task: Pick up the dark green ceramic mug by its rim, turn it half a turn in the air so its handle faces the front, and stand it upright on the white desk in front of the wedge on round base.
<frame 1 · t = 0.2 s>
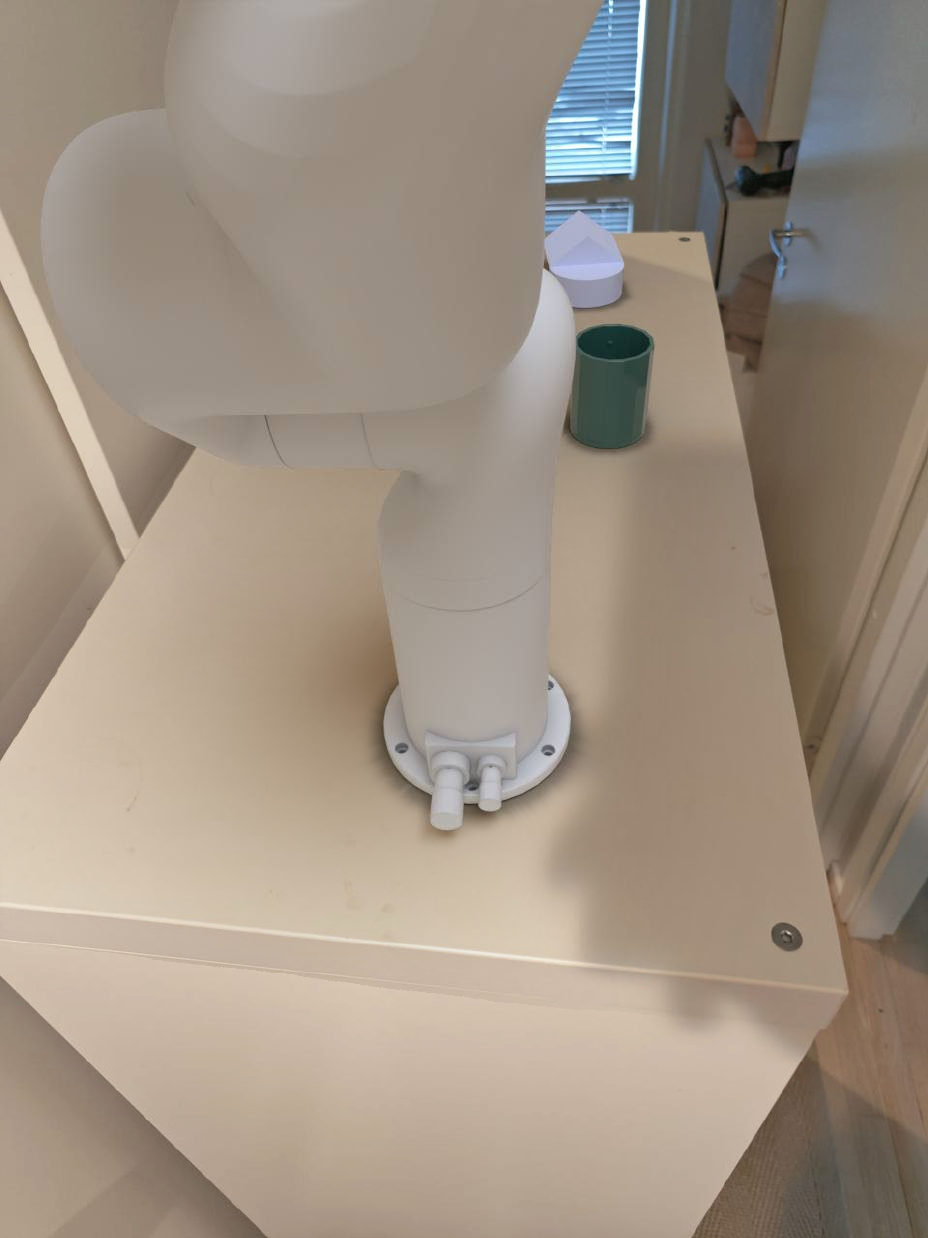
hand: (475, 7, 49), 36 cm above the cabinet, tool pointing down, fingers open, 9 cm apart
wedge on round base: (583, 286, 106), on the cabinet
mug: (607, 428, 83), on the cabinet
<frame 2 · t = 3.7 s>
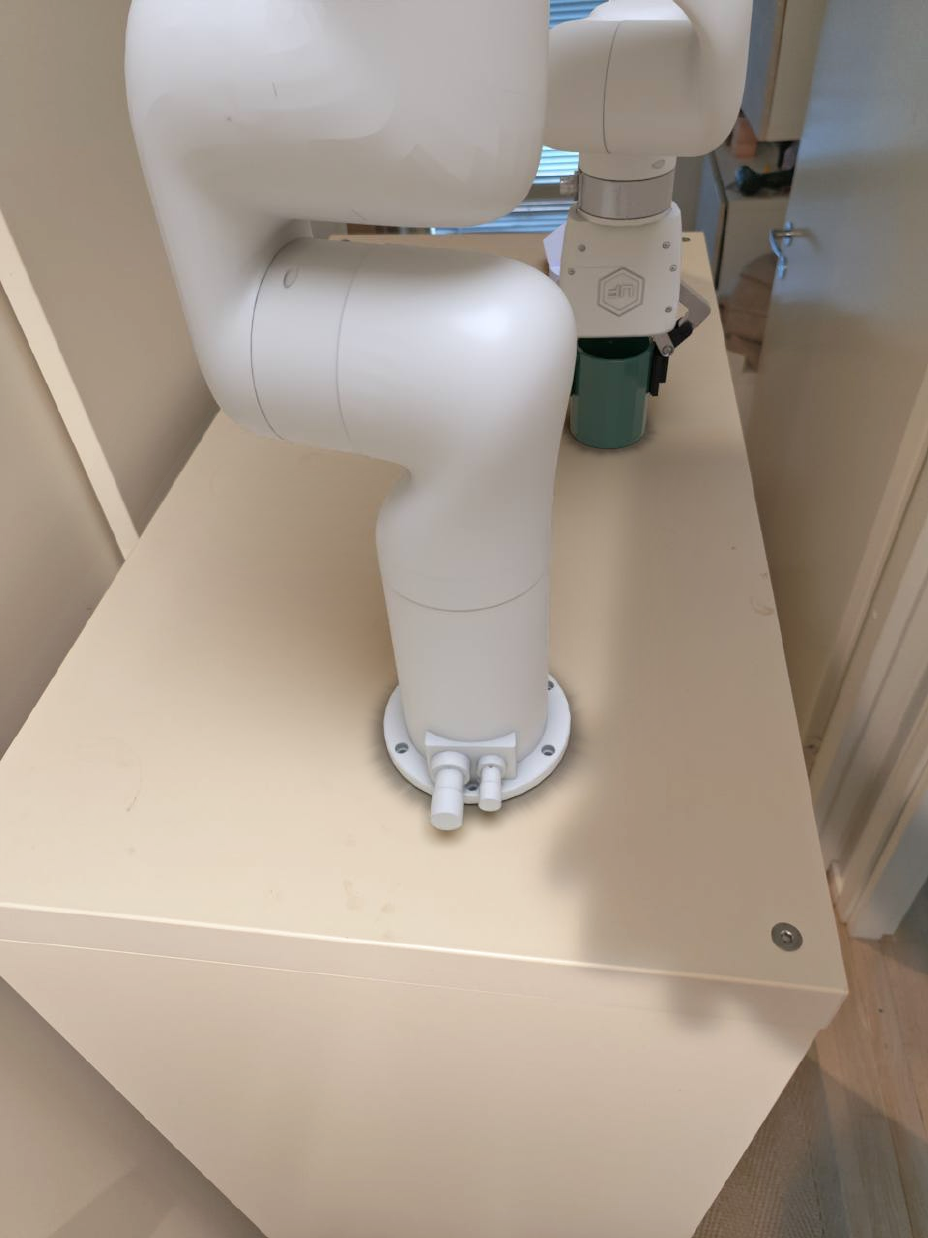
hand: (610, 388, 80), 4 cm above the cabinet, tool pointing down, fingers closed on mug, 7 cm apart
mug: (607, 428, 83), on the cabinet, touching gripper
everything else where it was.
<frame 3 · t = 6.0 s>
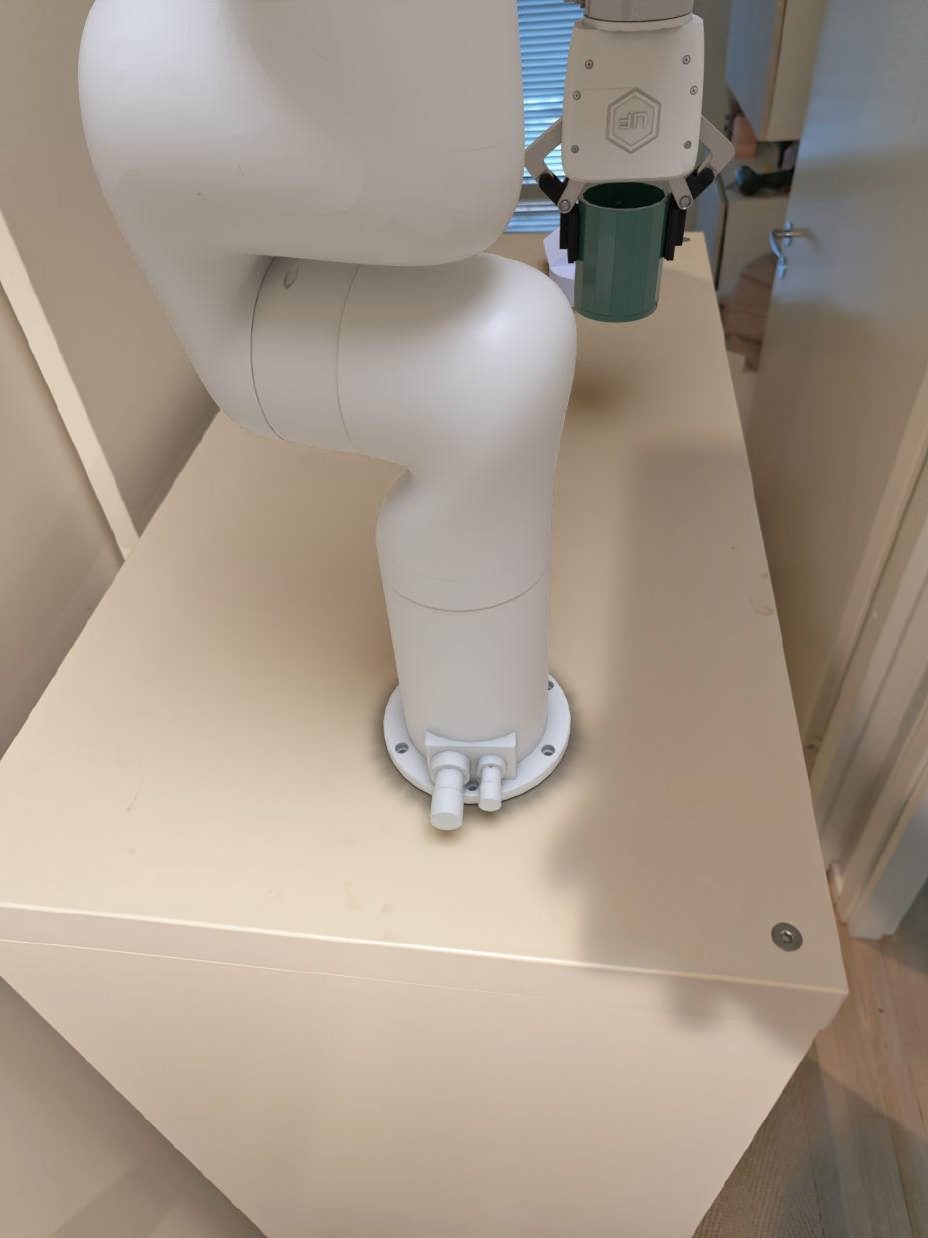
hand: (619, 254, 71), 17 cm above the cabinet, tool pointing down, fingers closed on mug, 7 cm apart
mug: (615, 304, 74), point 13 cm above the cabinet, touching gripper
everything else where it was.
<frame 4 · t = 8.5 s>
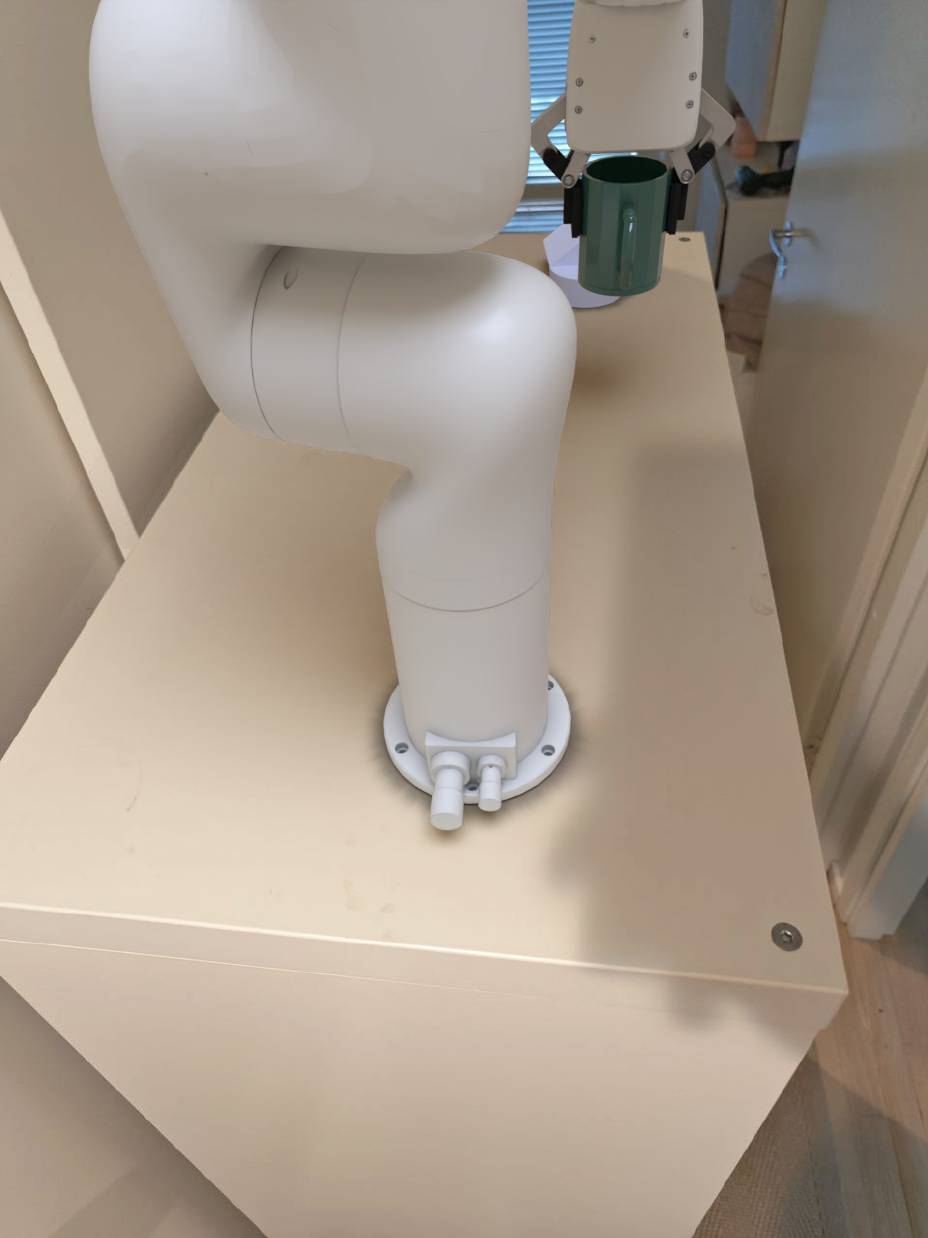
hand: (622, 228, 72), 18 cm above the cabinet, tool pointing down, fingers closed on mug, 7 cm apart
mug: (618, 278, 75), point 14 cm above the cabinet, touching gripper
everything else where it was.
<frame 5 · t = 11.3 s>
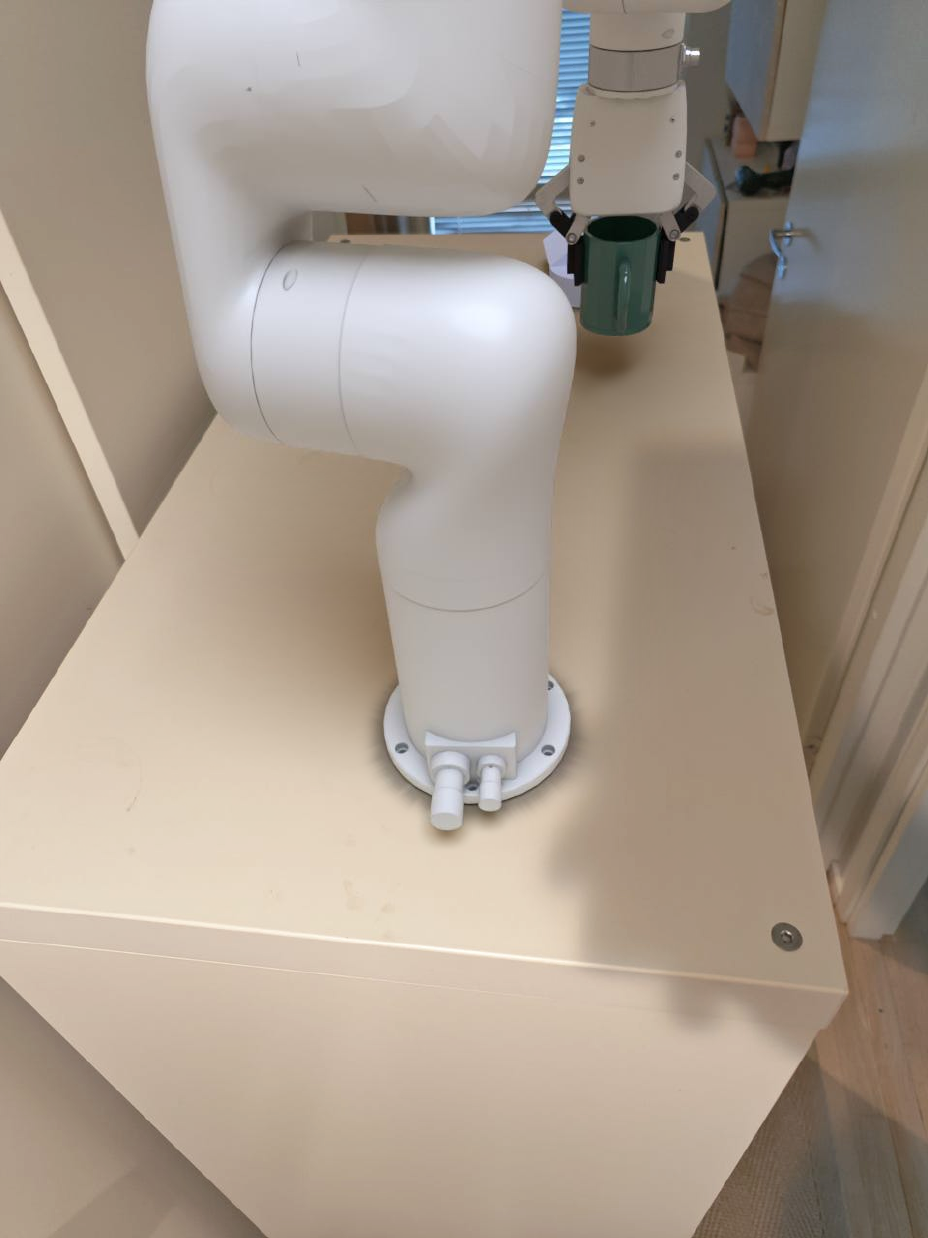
hand: (618, 277, 82), 11 cm above the cabinet, tool pointing down, fingers closed on mug, 7 cm apart
mug: (615, 319, 86), point 6 cm above the cabinet, touching gripper
everything else where it was.
when the fingers open (4 cm above the cabinet, at t = 13.6 s): mug stays where it is, on the cabinet.
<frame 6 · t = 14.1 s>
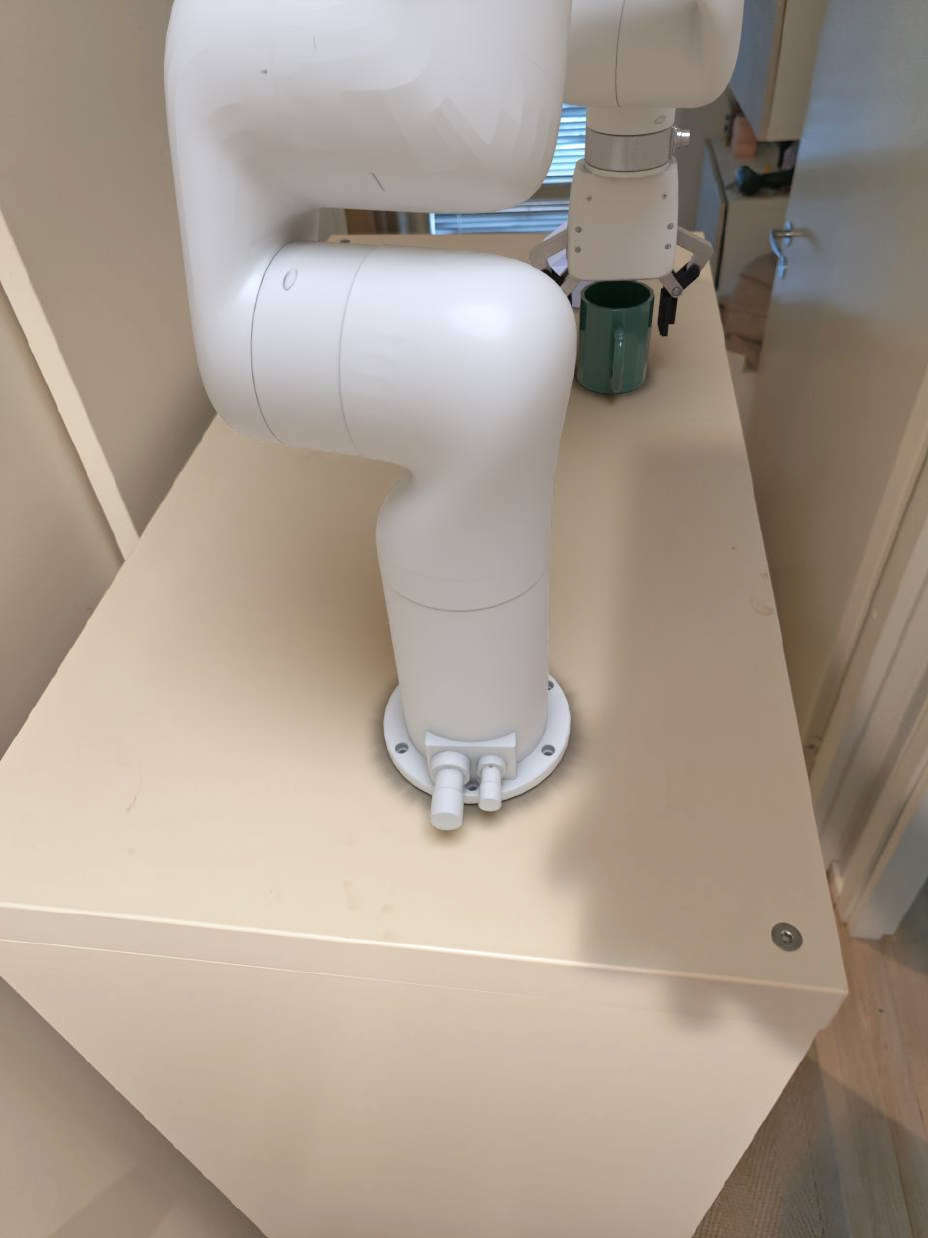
hand: (614, 331, 86), 5 cm above the cabinet, tool pointing down, fingers open, 9 cm apart
mug: (611, 376, 90), on the cabinet
everything else where it was.
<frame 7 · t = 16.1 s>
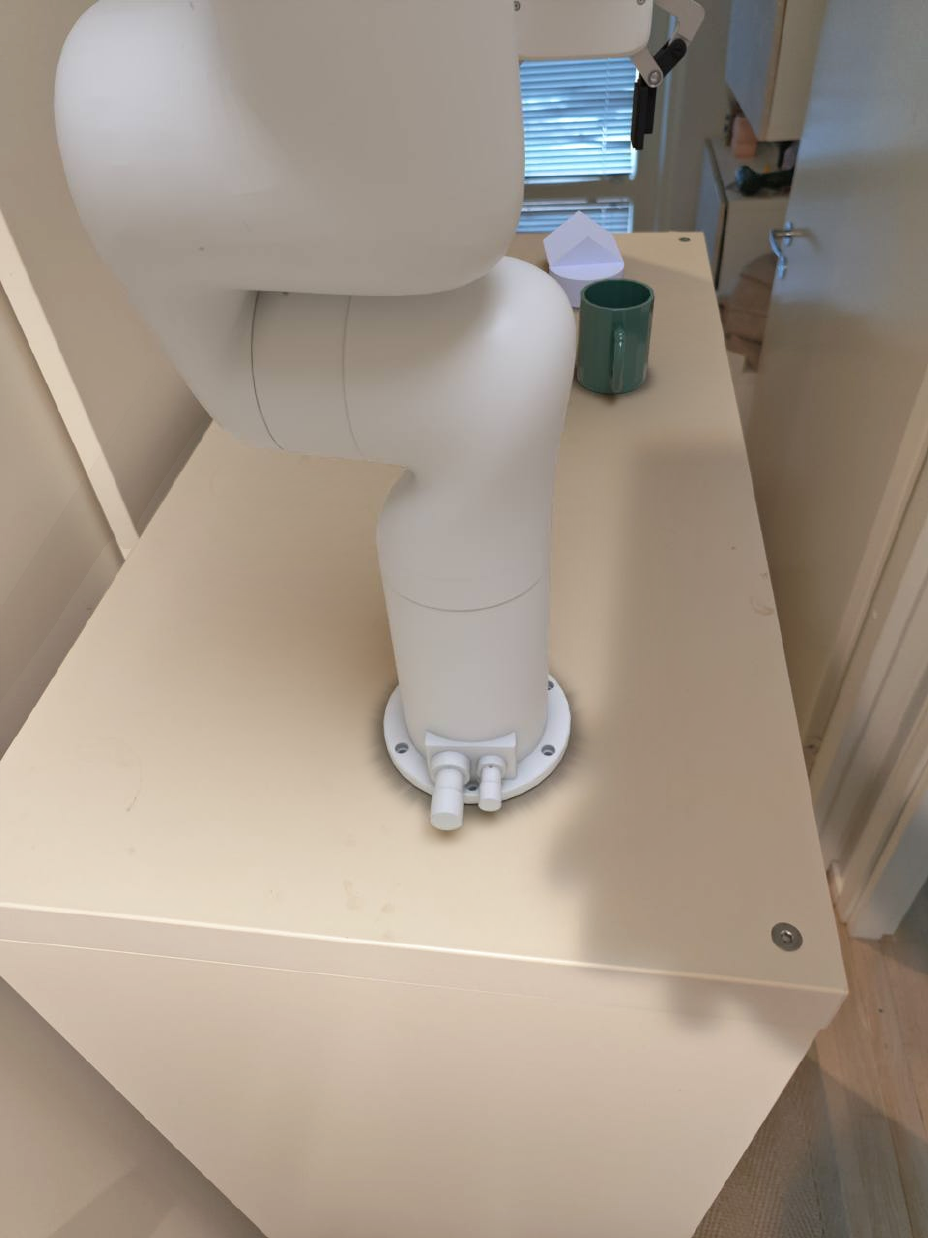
hand: (572, 147, 64), 26 cm above the cabinet, tool pointing down, fingers open, 9 cm apart
nothing on the cabinet moved.
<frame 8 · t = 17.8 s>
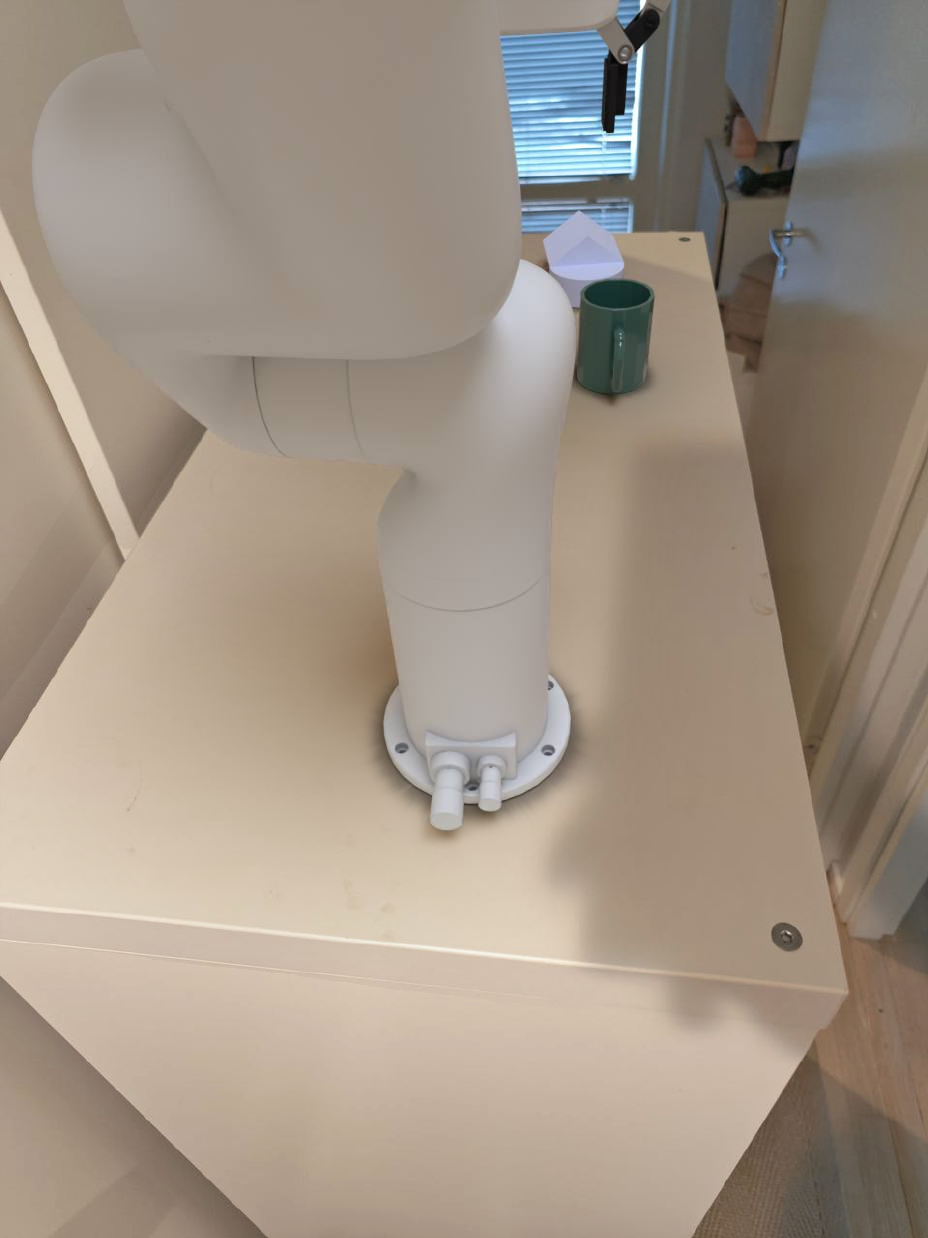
hand: (537, 130, 59), 28 cm above the cabinet, tool pointing down, fingers open, 9 cm apart
nothing on the cabinet moved.
at the end: mug tilted 0°; mug inside the target area (0.0 cm from its centre), on the cabinet; mug 23.1 cm from the wedge on round base (horizontally) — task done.
